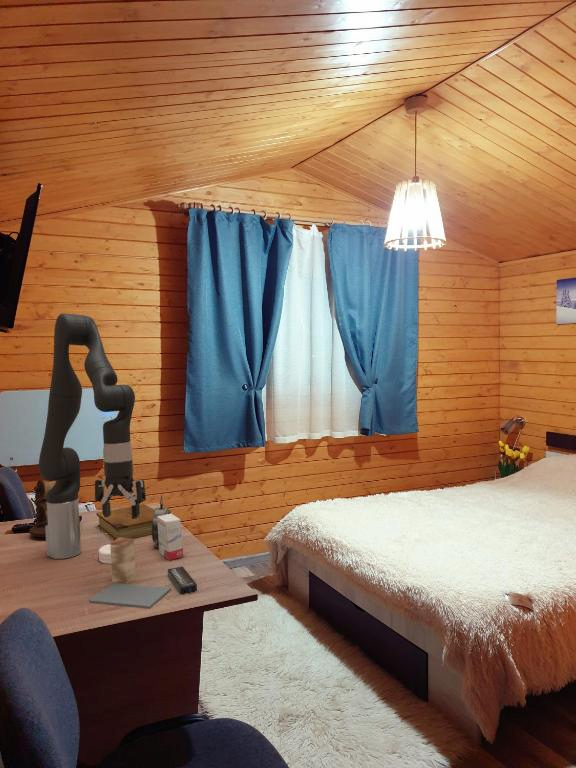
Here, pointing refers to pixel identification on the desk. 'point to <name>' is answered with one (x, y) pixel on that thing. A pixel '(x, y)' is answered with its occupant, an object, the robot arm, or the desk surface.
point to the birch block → (122, 560)
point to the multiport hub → (182, 580)
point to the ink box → (170, 536)
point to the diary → (127, 523)
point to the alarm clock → (157, 512)
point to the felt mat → (130, 595)
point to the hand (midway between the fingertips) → (121, 517)
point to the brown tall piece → (41, 508)
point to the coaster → (105, 554)
